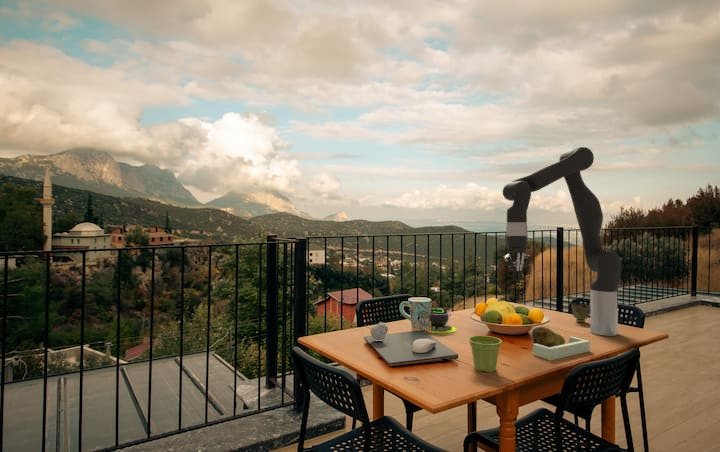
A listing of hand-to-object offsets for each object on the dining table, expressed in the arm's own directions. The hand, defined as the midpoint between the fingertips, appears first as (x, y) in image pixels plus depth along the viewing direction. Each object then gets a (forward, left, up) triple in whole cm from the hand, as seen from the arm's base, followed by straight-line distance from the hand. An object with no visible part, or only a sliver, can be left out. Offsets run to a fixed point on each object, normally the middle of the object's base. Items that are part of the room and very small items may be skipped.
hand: (516, 280), depth 153 cm
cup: (-49, -6, -22) cm, 54 cm away
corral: (0, +19, -22) cm, 29 cm away
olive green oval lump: (0, +14, -22) cm, 27 cm away
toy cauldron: (+16, -27, -23) cm, 38 cm away
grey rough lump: (+47, -21, -22) cm, 57 cm away
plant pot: (+34, +18, -22) cm, 45 cm away
